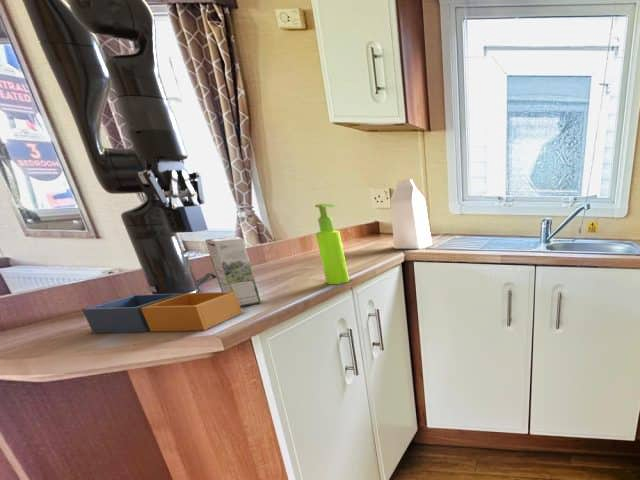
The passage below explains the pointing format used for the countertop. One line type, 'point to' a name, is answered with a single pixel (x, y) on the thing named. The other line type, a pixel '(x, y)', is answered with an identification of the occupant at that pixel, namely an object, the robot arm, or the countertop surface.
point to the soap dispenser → (331, 249)
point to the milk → (409, 217)
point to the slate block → (190, 219)
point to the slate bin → (123, 313)
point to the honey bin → (192, 311)
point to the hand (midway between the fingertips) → (188, 229)
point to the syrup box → (233, 268)
